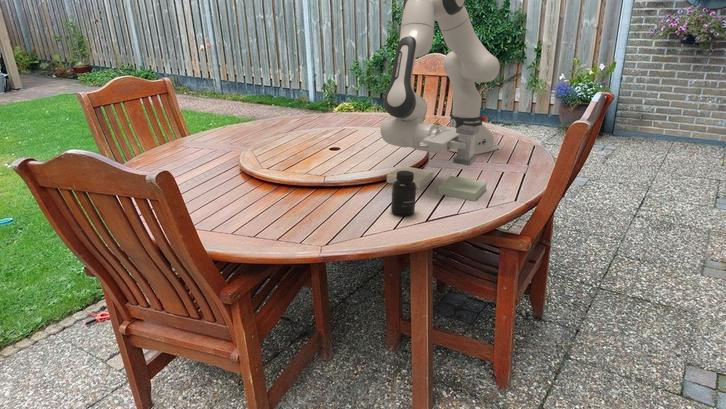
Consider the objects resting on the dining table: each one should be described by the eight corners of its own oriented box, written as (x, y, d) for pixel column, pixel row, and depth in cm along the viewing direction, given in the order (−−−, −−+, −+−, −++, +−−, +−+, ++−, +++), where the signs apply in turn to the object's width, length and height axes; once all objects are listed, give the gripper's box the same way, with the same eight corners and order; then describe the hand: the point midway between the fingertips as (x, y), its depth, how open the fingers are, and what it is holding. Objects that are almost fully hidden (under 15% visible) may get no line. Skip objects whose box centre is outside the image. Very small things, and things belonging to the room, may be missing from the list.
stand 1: (401, 172, 175) (402, 165, 174) (433, 178, 169) (433, 171, 168) (386, 182, 165) (386, 175, 164) (419, 188, 159) (419, 181, 159)
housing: (458, 158, 157) (462, 124, 153) (475, 161, 155) (479, 127, 151) (452, 162, 153) (456, 128, 149) (469, 165, 150) (473, 130, 146)
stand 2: (451, 182, 165) (451, 175, 164) (485, 189, 160) (486, 182, 159) (437, 193, 156) (438, 186, 155) (474, 201, 150) (475, 193, 149)
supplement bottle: (407, 219, 137) (410, 178, 133) (386, 213, 140) (388, 174, 136) (418, 211, 143) (421, 172, 138) (398, 205, 146) (399, 167, 141)
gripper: (415, 134, 148) (458, 141, 142) (439, 122, 164) (480, 127, 158) (413, 154, 150) (456, 162, 144) (438, 140, 167) (477, 146, 160)
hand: (469, 144), depth 151 cm, fingers closed on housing, 4 cm apart
